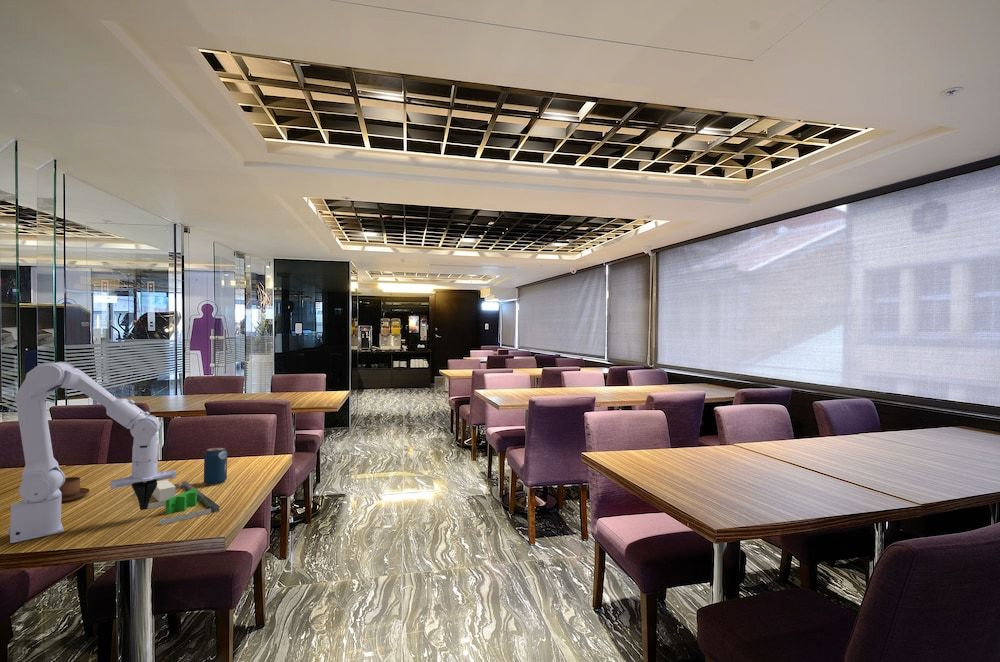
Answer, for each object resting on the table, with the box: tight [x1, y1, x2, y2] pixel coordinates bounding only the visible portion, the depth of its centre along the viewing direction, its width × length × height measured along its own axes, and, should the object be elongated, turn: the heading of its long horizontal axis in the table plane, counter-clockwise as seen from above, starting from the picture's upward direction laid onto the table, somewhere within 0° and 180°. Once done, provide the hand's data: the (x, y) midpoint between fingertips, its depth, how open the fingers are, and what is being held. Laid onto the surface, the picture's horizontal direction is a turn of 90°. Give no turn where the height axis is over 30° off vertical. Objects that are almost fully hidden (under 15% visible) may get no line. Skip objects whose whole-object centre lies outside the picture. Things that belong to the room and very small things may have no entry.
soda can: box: [203, 446, 228, 486], centre depth 161 cm, size 7×7×12 cm
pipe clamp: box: [165, 488, 198, 515], centre depth 136 cm, size 10×4×4 cm, turn 175°
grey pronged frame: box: [133, 480, 220, 526], centre depth 140 cm, size 14×37×2 cm, turn 47°
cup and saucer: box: [59, 476, 90, 503], centre depth 144 cm, size 12×12×6 cm
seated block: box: [152, 479, 177, 502], centre depth 146 cm, size 4×11×4 cm, turn 47°
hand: (143, 508), depth 128 cm, fingers closed
